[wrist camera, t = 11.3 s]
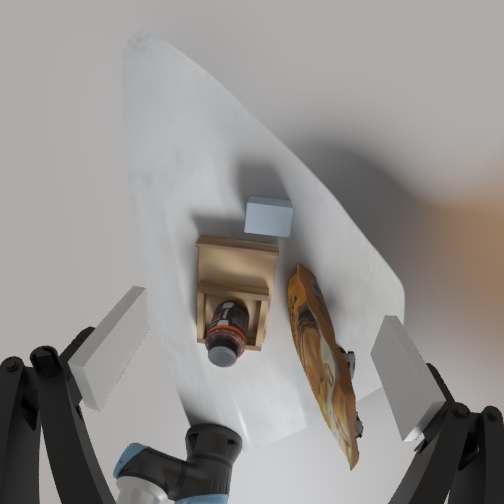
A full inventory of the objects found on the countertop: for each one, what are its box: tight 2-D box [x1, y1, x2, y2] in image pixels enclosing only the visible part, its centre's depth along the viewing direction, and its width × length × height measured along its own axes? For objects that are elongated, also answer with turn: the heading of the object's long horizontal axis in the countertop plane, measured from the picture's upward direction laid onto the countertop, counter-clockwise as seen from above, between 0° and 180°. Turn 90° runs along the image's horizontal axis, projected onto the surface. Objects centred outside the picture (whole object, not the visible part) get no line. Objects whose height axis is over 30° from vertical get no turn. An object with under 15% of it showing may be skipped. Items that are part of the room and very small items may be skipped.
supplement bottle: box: [205, 300, 250, 367], centre depth 42 cm, size 6×6×11 cm
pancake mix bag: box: [288, 263, 359, 470], centre depth 35 cm, size 7×19×28 cm, turn 10°
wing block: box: [244, 196, 294, 238], centre depth 40 cm, size 4×6×6 cm, turn 84°
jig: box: [196, 235, 279, 351], centre depth 46 cm, size 18×12×4 cm, turn 174°
